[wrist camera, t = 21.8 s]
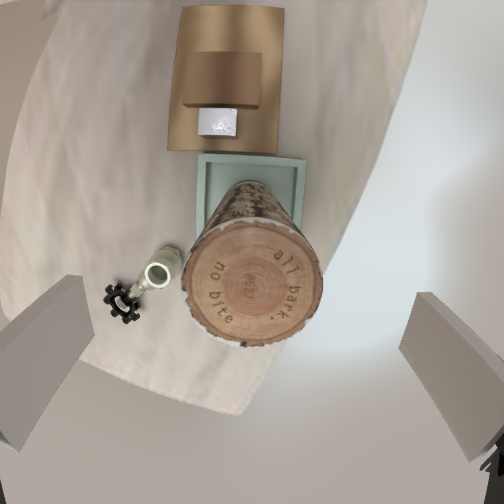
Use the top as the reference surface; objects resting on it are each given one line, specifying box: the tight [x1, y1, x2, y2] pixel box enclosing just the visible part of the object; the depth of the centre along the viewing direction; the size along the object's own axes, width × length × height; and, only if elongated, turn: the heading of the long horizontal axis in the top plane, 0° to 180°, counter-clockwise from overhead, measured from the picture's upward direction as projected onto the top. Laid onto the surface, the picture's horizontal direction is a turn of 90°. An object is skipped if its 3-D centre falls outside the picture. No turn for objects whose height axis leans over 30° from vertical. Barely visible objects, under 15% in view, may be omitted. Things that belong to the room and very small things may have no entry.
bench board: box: [167, 5, 284, 154], centre depth 32 cm, size 14×22×1 cm, turn 177°
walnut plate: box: [182, 51, 262, 109], centre depth 30 cm, size 9×7×3 cm
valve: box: [103, 245, 182, 324], centre depth 38 cm, size 7×7×12 cm
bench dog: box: [198, 108, 239, 140], centre depth 31 cm, size 4×3×6 cm
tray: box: [196, 154, 307, 240], centre depth 36 cm, size 13×13×3 cm
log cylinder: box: [181, 180, 323, 348], centre depth 25 cm, size 7×7×25 cm
